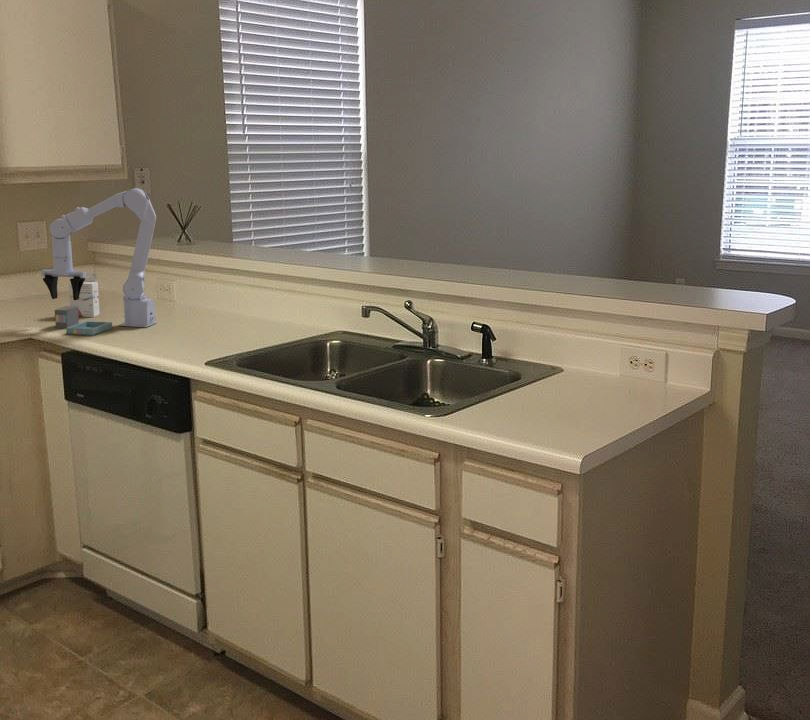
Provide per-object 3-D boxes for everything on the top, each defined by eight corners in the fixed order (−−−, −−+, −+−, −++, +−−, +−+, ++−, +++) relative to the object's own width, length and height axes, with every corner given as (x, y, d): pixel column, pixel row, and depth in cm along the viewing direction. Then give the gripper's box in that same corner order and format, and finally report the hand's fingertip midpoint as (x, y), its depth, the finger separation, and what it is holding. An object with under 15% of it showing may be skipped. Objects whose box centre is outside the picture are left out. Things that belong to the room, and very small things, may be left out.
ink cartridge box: (70, 316, 311) (67, 273, 308) (76, 313, 316) (73, 271, 313) (94, 317, 311) (91, 274, 307) (100, 314, 315) (97, 272, 312)
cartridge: (78, 324, 298) (77, 306, 297) (67, 328, 292) (65, 310, 290) (67, 324, 299) (66, 306, 298) (55, 328, 292) (54, 309, 291)
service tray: (112, 328, 293) (111, 322, 293) (92, 335, 282) (92, 329, 281) (86, 326, 295) (86, 320, 294) (66, 334, 283) (65, 328, 283)
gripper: (89, 256, 293) (92, 298, 296) (48, 254, 295) (51, 296, 298) (78, 259, 286) (81, 301, 289) (36, 257, 289) (39, 299, 292)
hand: (65, 299), depth 293 cm, fingers open, 7 cm apart
